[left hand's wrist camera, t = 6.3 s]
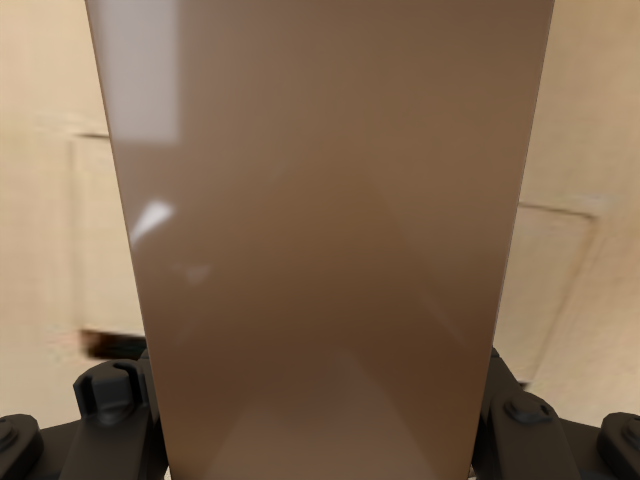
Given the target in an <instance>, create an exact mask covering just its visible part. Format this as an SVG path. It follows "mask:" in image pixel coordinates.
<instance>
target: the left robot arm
mask: <svg viewBox="0 0 640 480" xmlns="http://www.w3.org/2000/svg"><path fill="white" fill-rule="evenodd" d="M73 388H74V391H75V395H76V399H77V403H78V406H79V410H80V414H81V419H80V420H77V421H74V422H71V423H67V424H62V425H58V426H54V427H49V428H45V429H41V430H40V429H39V426H38V423H37V420H36V419H34V418H33V417H32V416H31V415H24V414H15V415H9V416H4V417H1V418H0V480H164V475H165V473H166V470H167V468H168V466H169V463H168V458H167V452H166V447H165V441H164V436H163V430H162V425H161V419H160V414H159V408H158V403H157V397H156V392H155V386H154V380H153V375H152V369H151V364H150V358H149V353H148V347H147V349H145V350H144V352H143V353H142V355H141V358H140V359H138V361H134V360H130V359H115V360H111V361H107V362H103V363H101V364H99V365H96V366H94V367H92V368H90V369H88V370H87V371H86V372H84V373H83V374H82V375H80V376H79V377H78V379H77V380H76V381H75V383H74V384H73ZM471 464H472V467H473V469H474V472H475V474H476V480H640V416H638V415H635V414H630V413H623V412H618V413H611V414H609V415H607V416H606V417H605V418H604V419H603V422H602V425H601V428H598V427H593V426H589V425H585V424H580V423H576V422H572V421H568V420H565V419H562V418H559V417H558V415H557V414H556V412H555V411H554V409H553V408H552V407H551V406H550V405H549V404H548V403H547V402H545V401H544V400H543V399H541V398H539V397H537V396H535V395H533V394H532V393H529V392H525V391H523V389H522V388H521V386H520V385H519V383H518V382H517V380H516V379H515V377H514V376H513V374H512V373H511V371H510V370H509V369H508V367H507V366H506V364H505V363H504V361H503V360H502V358H500V357H499V354H498V352H497V351H496V349H495V348H493V345H492V350H491V356H490V361H489V367H488V372H487V378H486V384H485V389H484V395H483V400H482V406H481V411H480V417H479V422H478V428H477V433H476V439H475V445H474V450H473V456H472V461H471Z"/></svg>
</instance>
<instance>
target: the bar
mask: <svg viewBox="0 0 640 480" xmlns="http://www.w3.org/2000/svg"><path fill="white" fill-rule="evenodd" d="M554 1H555V0H85V4H86V10H87V15H88V21H89V26H90V32H91V37H92V43H93V48H94V54H95V60H96V65H97V71H98V76H99V82H100V87H101V93H102V98H103V104H104V109H105V115H106V120H107V126H108V131H109V137H110V143H111V148H112V154H113V159H114V165H115V170H116V176H117V181H118V187H119V192H120V198H121V203H122V209H123V214H124V220H125V226H126V231H127V237H128V242H129V248H130V253H131V259H132V264H133V270H134V275H135V281H136V286H137V292H138V297H139V303H140V309H141V314H142V320H143V325H144V331H145V336H146V342H147V347H148V353H149V358H150V364H151V369H152V375H153V380H154V386H155V392H156V397H157V403H158V408H159V414H160V419H161V425H162V430H163V436H164V441H165V447H166V452H167V458H168V463H169V469H170V475H171V480H468V478H469V472H470V467H471V461H472V456H473V450H474V445H475V439H476V433H477V428H478V422H479V417H480V411H481V406H482V400H483V395H484V389H485V384H486V378H487V372H488V367H489V361H490V356H491V350H492V345H493V339H494V334H495V328H496V323H497V317H498V311H499V306H500V300H501V295H502V289H503V284H504V278H505V273H506V267H507V262H508V256H509V251H510V245H511V239H512V234H513V228H514V223H515V217H516V212H517V206H518V201H519V195H520V190H521V184H522V178H523V173H524V167H525V162H526V156H527V151H528V145H529V140H530V134H531V129H532V123H533V118H534V112H535V106H536V101H537V95H538V90H539V84H540V79H541V73H542V68H543V62H544V57H545V51H546V45H547V40H548V34H549V29H550V23H551V18H552V12H553V7H554Z"/></svg>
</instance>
